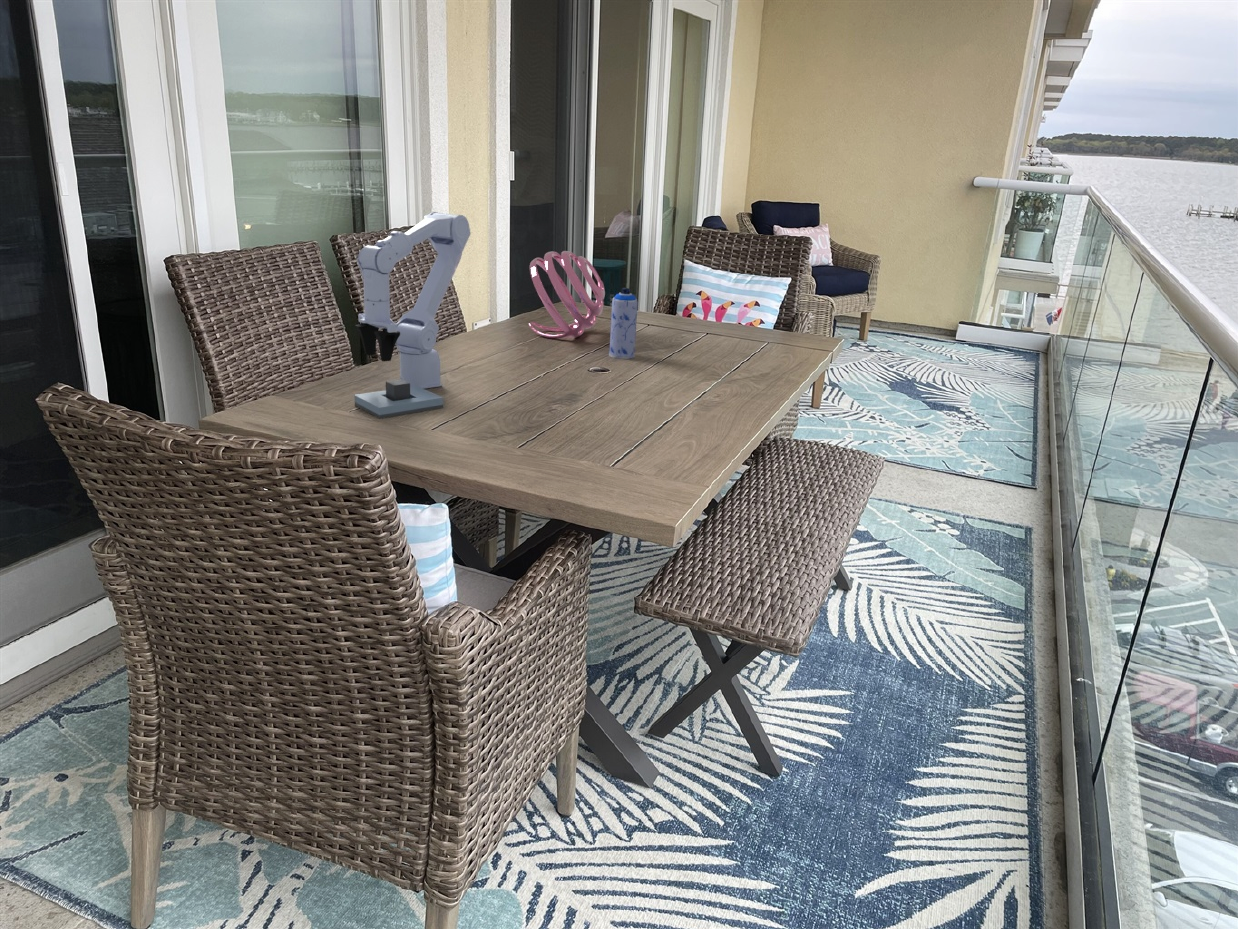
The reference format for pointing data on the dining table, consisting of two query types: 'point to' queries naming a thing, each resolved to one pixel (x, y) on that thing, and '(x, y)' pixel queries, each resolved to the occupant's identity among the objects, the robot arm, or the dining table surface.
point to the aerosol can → (623, 325)
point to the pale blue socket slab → (398, 403)
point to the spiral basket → (568, 294)
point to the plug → (397, 390)
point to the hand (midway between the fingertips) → (378, 357)
